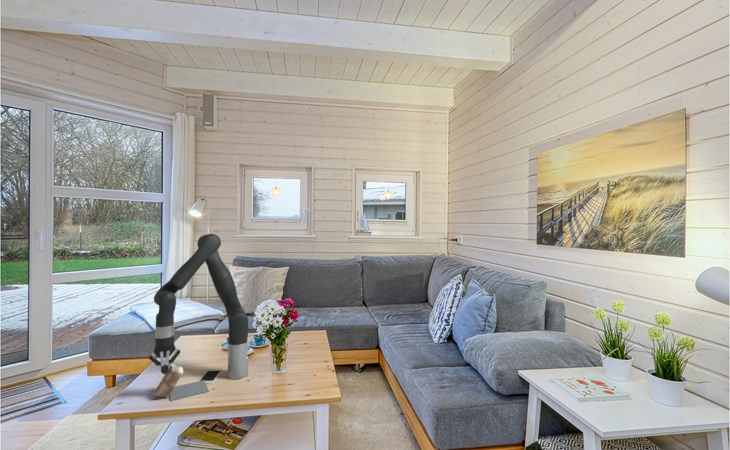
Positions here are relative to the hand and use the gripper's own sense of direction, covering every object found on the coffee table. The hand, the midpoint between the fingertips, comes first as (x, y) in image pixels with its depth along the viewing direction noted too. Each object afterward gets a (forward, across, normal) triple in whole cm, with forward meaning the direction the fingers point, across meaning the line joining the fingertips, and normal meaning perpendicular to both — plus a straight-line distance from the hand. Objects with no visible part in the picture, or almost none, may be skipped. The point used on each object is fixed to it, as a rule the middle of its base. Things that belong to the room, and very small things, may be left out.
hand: (164, 373), depth 151 cm
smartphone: (+11, -20, -10) cm, 25 cm away
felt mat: (+10, -10, 0) cm, 14 cm away
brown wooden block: (+9, +1, 0) cm, 9 cm away
